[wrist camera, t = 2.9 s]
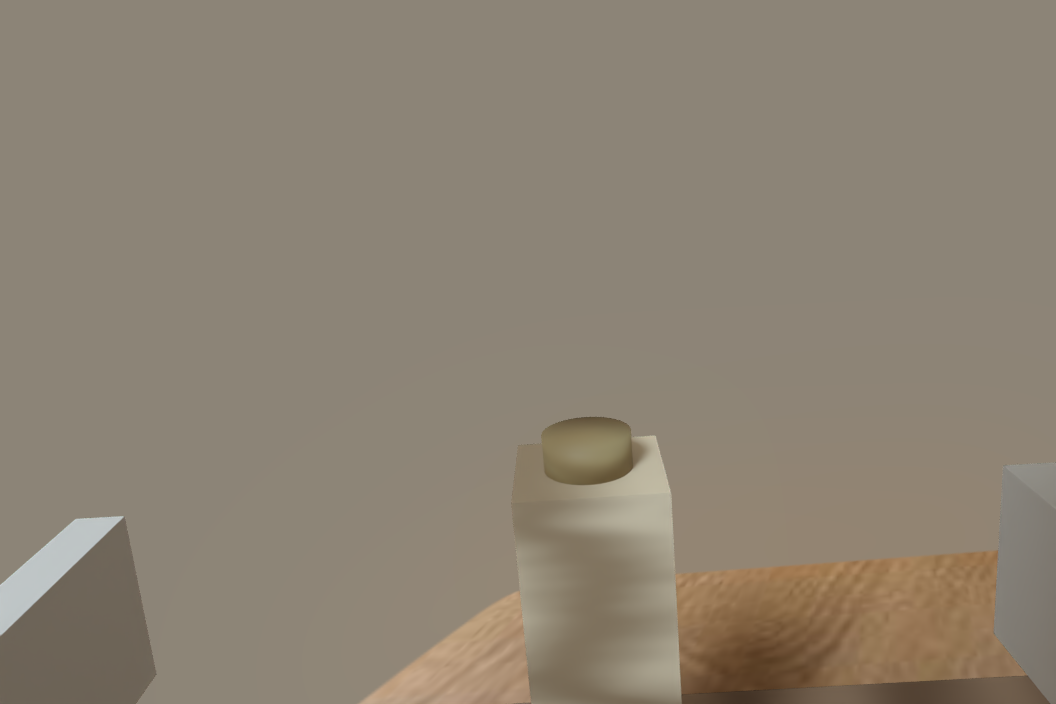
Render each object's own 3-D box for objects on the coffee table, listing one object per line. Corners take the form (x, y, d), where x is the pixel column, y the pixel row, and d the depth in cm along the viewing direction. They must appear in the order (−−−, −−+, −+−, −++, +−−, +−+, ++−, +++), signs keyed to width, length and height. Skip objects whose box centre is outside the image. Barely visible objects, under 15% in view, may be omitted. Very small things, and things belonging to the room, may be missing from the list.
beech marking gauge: (667, 756, 33) (646, 376, 30) (705, 991, 25) (681, 497, 21) (553, 762, 34) (518, 386, 30) (551, 997, 25) (501, 509, 21)
